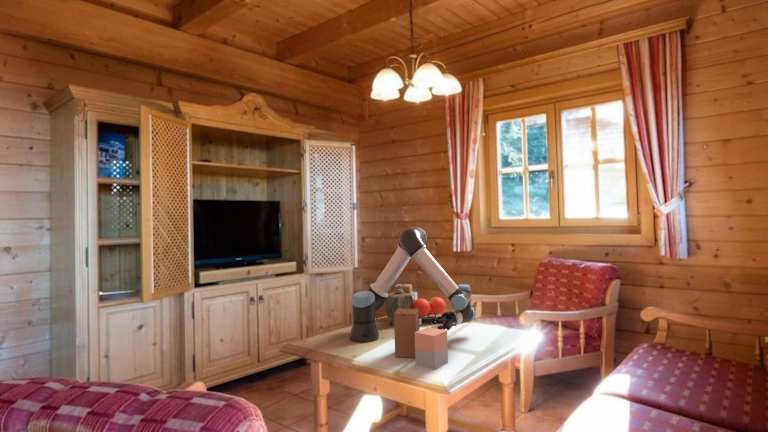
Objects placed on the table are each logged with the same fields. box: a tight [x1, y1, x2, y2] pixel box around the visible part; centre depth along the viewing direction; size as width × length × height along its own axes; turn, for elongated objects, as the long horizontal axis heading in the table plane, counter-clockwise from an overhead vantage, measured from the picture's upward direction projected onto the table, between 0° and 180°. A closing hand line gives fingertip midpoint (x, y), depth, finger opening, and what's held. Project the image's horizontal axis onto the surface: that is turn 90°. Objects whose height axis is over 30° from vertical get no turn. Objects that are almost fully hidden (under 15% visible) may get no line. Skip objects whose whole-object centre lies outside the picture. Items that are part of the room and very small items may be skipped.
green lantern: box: [393, 283, 414, 299], centre depth 275 cm, size 10×10×20 cm
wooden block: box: [393, 308, 420, 359], centre depth 205 cm, size 10×10×20 cm
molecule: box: [412, 296, 447, 323], centre depth 260 cm, size 25×11×16 cm, turn 120°
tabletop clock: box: [384, 280, 414, 325], centre depth 260 cm, size 14×9×25 cm, turn 128°
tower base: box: [414, 347, 449, 370], centre depth 191 cm, size 10×10×7 cm
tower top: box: [415, 326, 449, 353], centre depth 191 cm, size 10×10×7 cm
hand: (421, 326), depth 210 cm, fingers open, 13 cm apart
